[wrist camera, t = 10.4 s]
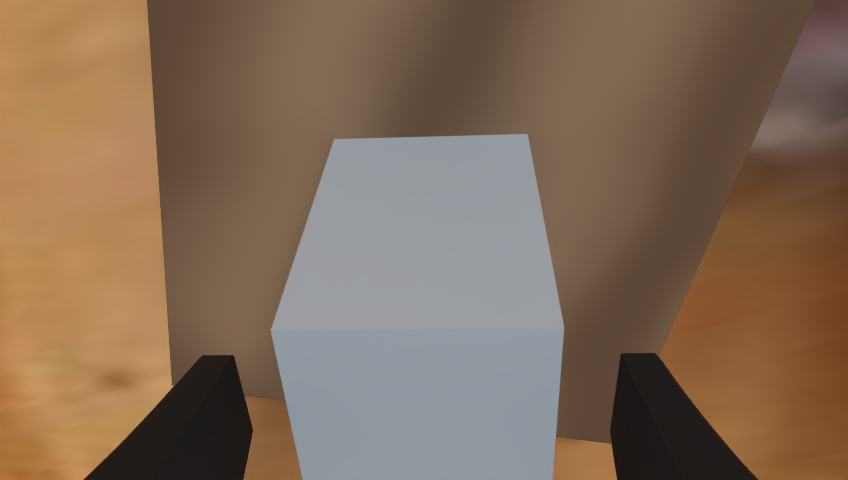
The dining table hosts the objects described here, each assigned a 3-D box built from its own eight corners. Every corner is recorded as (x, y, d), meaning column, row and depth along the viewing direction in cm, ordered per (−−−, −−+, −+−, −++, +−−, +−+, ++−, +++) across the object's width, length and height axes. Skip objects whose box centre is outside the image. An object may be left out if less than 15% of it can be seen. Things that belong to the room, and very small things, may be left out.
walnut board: (781, -28, 17) (817, -5, 15) (608, 398, 24) (619, 444, 23) (172, -129, 16) (139, -117, 14) (192, 341, 24) (172, 385, 22)
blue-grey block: (528, 134, 17) (564, 326, 11) (522, 289, 20) (550, 513, 14) (334, 139, 17) (271, 330, 11) (353, 292, 20) (310, 513, 14)
